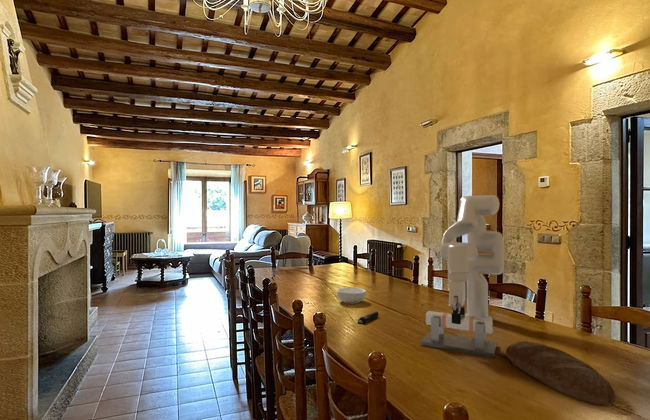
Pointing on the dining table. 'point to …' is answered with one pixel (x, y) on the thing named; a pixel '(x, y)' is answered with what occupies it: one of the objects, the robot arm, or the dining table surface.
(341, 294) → the cereal bowl
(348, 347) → the dining table surface
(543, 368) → the bread
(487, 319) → the white and orange bar
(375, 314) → the electric trimmer
